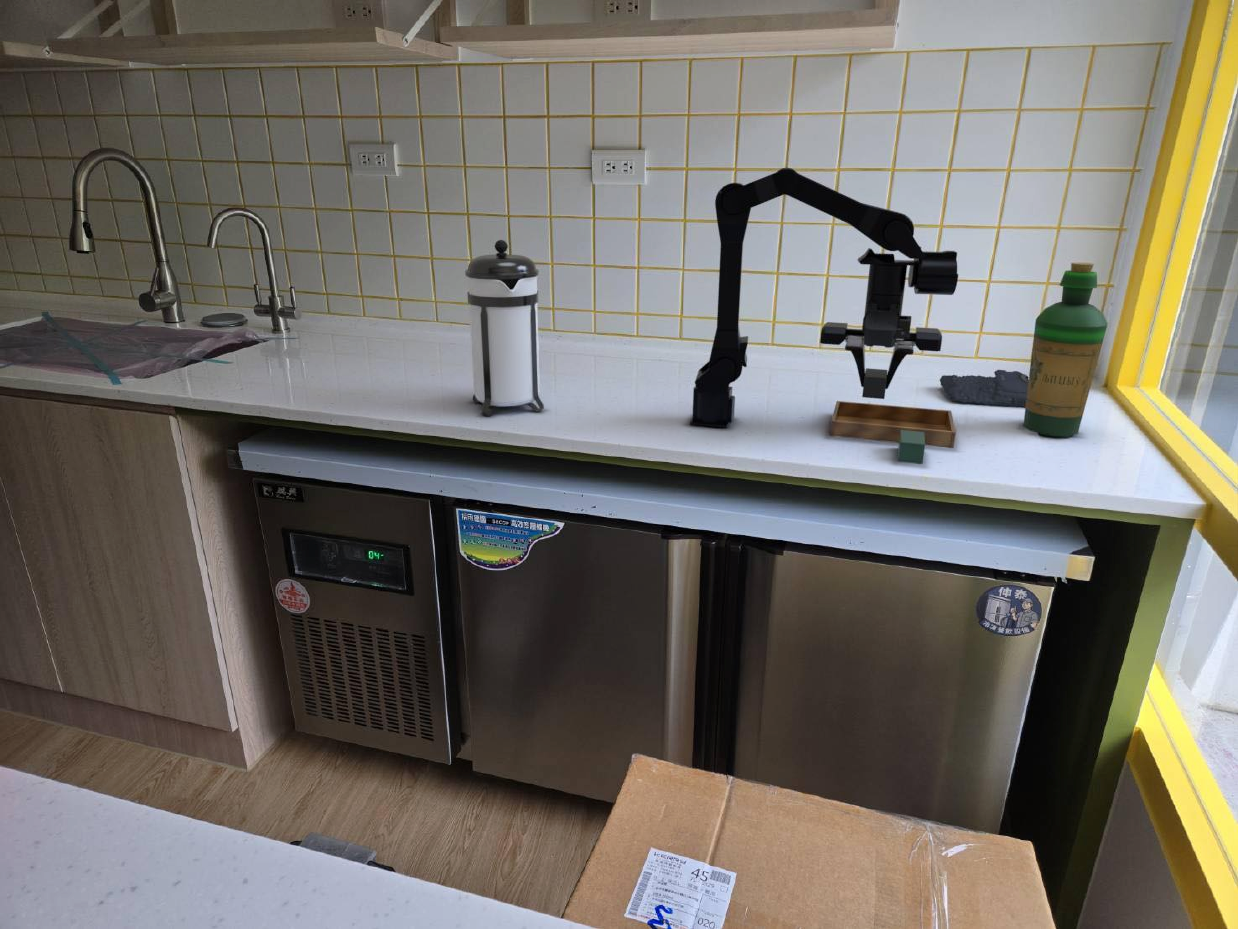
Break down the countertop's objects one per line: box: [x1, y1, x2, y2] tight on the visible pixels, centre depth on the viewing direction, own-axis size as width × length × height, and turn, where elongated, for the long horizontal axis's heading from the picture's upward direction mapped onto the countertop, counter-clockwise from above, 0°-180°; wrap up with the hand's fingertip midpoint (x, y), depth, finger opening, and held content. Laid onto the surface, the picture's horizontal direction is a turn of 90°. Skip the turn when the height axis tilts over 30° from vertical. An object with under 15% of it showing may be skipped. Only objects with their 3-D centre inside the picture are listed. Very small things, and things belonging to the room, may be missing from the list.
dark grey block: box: [861, 367, 888, 400], centre depth 137 cm, size 4×6×4 cm, turn 162°
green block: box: [897, 430, 926, 464], centre depth 126 cm, size 4×6×4 cm, turn 162°
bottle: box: [1022, 262, 1109, 438], centre depth 135 cm, size 11×11×28 cm
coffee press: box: [464, 239, 545, 417], centre depth 148 cm, size 17×16×30 cm
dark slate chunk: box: [939, 369, 1029, 408], centre depth 161 cm, size 15×22×5 cm
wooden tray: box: [829, 400, 957, 449], centre depth 138 cm, size 19×13×3 cm
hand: (874, 387), depth 137 cm, fingers closed on dark grey block, 3 cm apart
